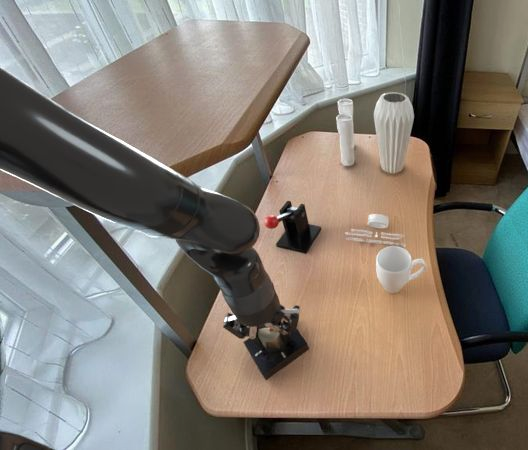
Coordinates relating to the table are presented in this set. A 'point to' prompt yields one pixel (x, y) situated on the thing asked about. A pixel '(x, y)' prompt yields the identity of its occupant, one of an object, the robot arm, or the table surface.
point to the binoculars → (346, 131)
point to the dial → (271, 339)
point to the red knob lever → (279, 218)
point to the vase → (393, 129)
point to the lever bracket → (297, 230)
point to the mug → (396, 268)
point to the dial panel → (277, 354)
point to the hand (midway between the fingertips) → (274, 339)
